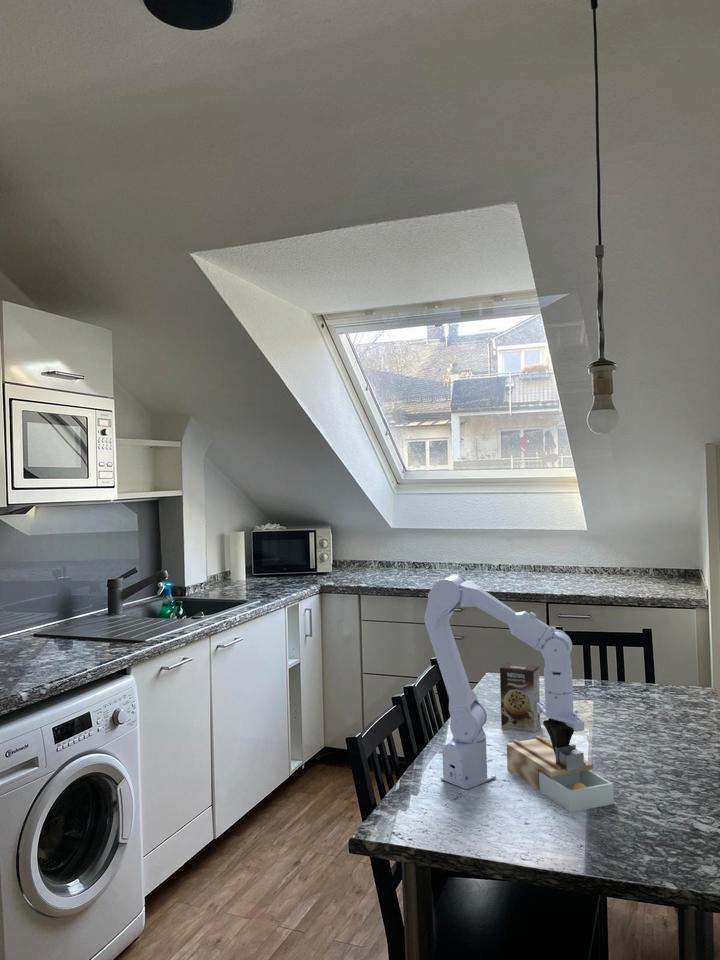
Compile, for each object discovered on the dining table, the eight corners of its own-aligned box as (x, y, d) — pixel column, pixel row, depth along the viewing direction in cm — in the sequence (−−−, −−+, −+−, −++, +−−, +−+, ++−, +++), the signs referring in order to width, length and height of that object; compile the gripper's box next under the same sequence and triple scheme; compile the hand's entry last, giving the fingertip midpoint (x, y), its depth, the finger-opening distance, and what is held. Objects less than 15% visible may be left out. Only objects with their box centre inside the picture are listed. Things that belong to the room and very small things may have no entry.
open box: (539, 790, 155) (538, 771, 155) (580, 783, 158) (580, 764, 158) (570, 812, 144) (569, 791, 144) (613, 803, 147) (613, 783, 147)
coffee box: (500, 729, 194) (498, 667, 194) (507, 721, 200) (505, 661, 200) (535, 733, 190) (533, 670, 190) (541, 726, 195) (539, 664, 196)
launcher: (507, 768, 167) (506, 740, 168) (546, 761, 171) (545, 734, 171) (552, 799, 150) (550, 768, 150) (594, 791, 154) (592, 761, 154)
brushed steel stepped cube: (555, 764, 154) (555, 746, 154) (574, 761, 155) (573, 743, 155) (566, 770, 150) (565, 752, 150) (584, 767, 152) (584, 749, 152)
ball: (569, 791, 151) (577, 804, 149) (569, 783, 150) (577, 796, 147) (583, 785, 152) (591, 798, 149) (583, 777, 150) (590, 790, 148)
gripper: (596, 697, 150) (598, 764, 150) (555, 680, 164) (557, 741, 164) (566, 701, 148) (568, 769, 148) (527, 683, 162) (529, 746, 162)
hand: (560, 755), depth 156 cm, fingers closed
